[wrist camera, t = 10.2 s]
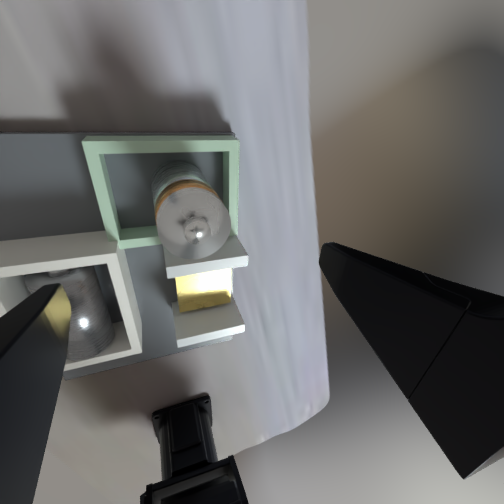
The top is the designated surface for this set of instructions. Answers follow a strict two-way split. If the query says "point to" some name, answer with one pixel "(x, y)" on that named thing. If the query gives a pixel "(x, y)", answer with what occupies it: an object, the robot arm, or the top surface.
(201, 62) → the top surface
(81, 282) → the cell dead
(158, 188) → the cell
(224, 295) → the plate
